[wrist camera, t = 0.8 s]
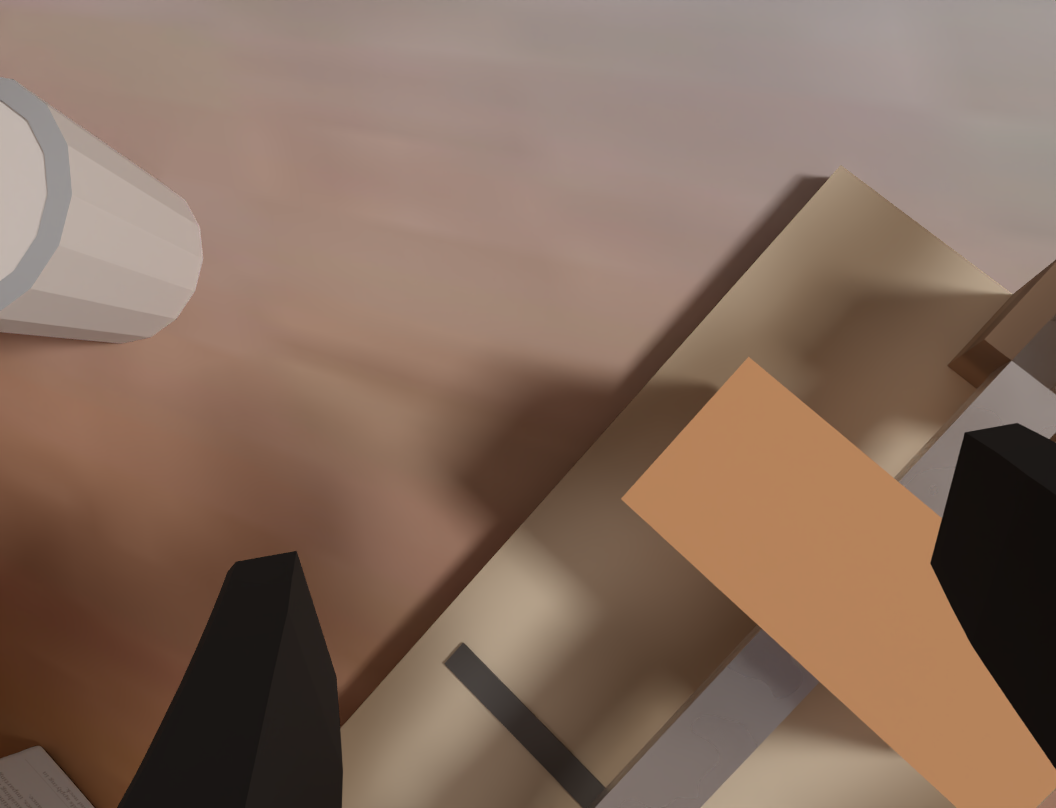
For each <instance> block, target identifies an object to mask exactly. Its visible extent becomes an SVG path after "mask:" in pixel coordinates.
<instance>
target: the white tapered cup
mask: <svg viewBox="0 0 1056 808" xmlns="http://www.w3.org/2000/svg"><path fill="white" fill-rule="evenodd" d="M202 261H203V253H202V243H201V234H200V226H199V224H198V222H197V221H196V219H195V217H194V215H193V213H192V211H191V209H190V208H189V206H188V204H187V202H186V200H185V199H183V198H182V197H181V196H179V195H178V194H177V193H175V192H174V191H173V190H171V189H170V188H169V187H167V186H166V185H165V184H163V183H162V182H161V181H159V180H158V179H156V178H155V177H153V176H152V175H151V174H149V173H148V172H146V171H145V170H143V169H142V168H140V167H139V166H138V165H136V164H135V163H133V162H132V161H130V160H129V159H127V158H126V157H125V156H123V155H122V154H120V153H119V152H117V151H116V150H114V149H113V148H112V147H110V146H109V145H107V144H106V143H104V142H103V141H102V140H100V139H99V138H97V137H96V136H94V135H93V134H91V133H90V132H89V131H87V130H86V129H84V128H83V127H81V126H80V125H78V124H77V123H76V122H74V121H73V120H71V119H70V118H68V117H67V116H65V115H64V114H63V113H61V112H60V111H58V110H57V109H55V108H54V107H52V106H51V105H50V104H48V103H47V102H45V101H44V100H42V99H41V98H40V97H38V96H37V95H35V94H34V93H32V92H31V91H29V90H28V89H27V88H25V87H24V86H22V85H21V84H19V83H18V82H16V81H15V80H14V79H8V78H2V77H0V332H4V333H15V334H25V335H36V336H47V337H57V338H68V339H78V340H89V341H99V342H110V343H120V344H122V343H127V342H131V341H136V340H141V339H145V338H150V337H152V336H153V335H155V334H156V333H157V332H159V331H160V330H162V329H163V328H164V327H166V326H167V325H169V324H170V323H172V322H173V321H174V320H176V319H177V317H178V316H179V314H180V313H181V311H182V310H183V308H184V307H185V305H186V304H187V302H188V301H189V300H190V298H191V297H192V295H193V294H194V292H195V289H196V285H197V281H198V277H199V273H200V269H201V265H202Z"/></svg>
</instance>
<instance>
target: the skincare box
mask: <svg viewBox="0 0 1056 808" xmlns="http://www.w3.org/2000/svg"><path fill="white" fill-rule="evenodd" d="M0 808H94V807H93V805H92V804H91V803H90V802H89V801H88V800H87V798H86V797H85V796H84V795H83V794H82V793H81V791H80V790H79V789H78V788H77V787H76V786H75V785H74V783H73V782H72V781H71V780H70V779H69V778H68V776H67V775H66V774H65V773H64V772H63V771H62V770H61V768H60V767H59V766H58V765H57V764H56V763H55V762H54V760H53V759H52V758H51V757H50V756H49V755H48V754H47V753H46V751H45V750H44V749H43V748H42V747H41V746H34V747H31V748H29V749H26V750H23V751H21V752H18V753H15V754H12V755H9V756H6V757H4V758H1V759H0Z"/></svg>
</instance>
